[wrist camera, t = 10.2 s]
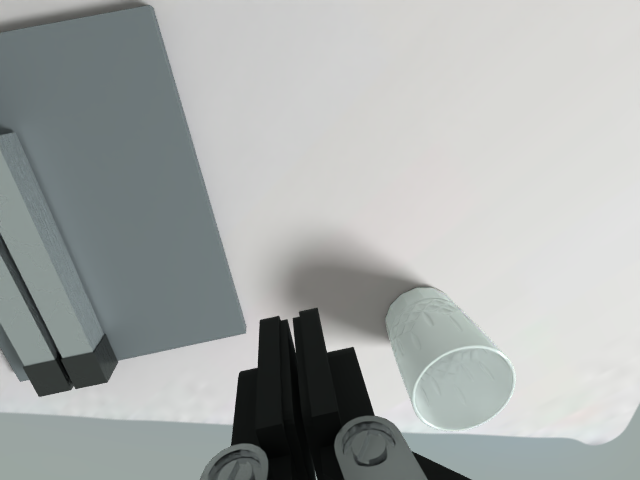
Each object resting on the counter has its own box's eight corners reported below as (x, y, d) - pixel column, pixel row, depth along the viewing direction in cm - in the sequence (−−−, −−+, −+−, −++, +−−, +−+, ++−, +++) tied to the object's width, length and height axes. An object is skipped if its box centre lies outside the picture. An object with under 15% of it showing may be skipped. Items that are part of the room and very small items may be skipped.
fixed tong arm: (-67, 147, 29) (-98, 154, 26) (-29, 140, 29) (-56, 146, 26) (54, 375, 36) (39, 396, 34) (84, 369, 36) (71, 389, 34)
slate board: (-149, 63, 27) (-164, 62, 27) (153, 7, 28) (149, 5, 27) (26, 374, 37) (19, 381, 36) (246, 327, 38) (245, 333, 37)
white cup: (394, 363, 41) (430, 446, 32) (366, 301, 38) (396, 373, 29) (468, 332, 41) (526, 406, 32) (445, 267, 38) (501, 328, 29)
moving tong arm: (-94, 67, 27) (-137, 66, 24) (-17, 53, 27) (-51, 51, 24) (61, 373, 36) (44, 399, 33) (118, 362, 37) (105, 386, 34)
